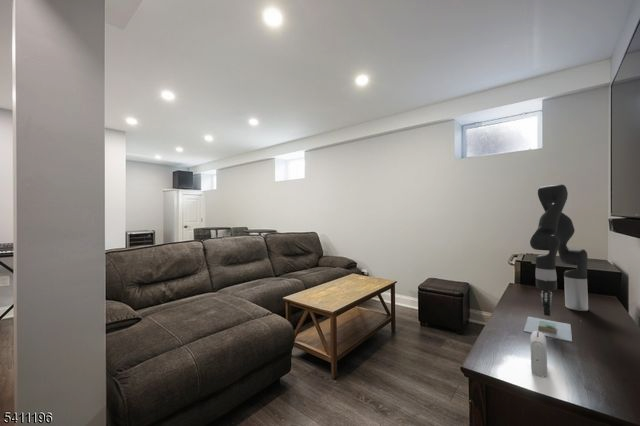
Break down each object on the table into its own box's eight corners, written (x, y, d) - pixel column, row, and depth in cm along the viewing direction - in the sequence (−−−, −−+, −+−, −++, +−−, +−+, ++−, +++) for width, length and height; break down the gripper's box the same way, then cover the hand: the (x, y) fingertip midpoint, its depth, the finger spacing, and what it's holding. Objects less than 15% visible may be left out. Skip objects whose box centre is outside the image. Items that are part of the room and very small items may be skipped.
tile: (539, 320, 127) (538, 325, 121) (555, 323, 123) (555, 329, 117) (539, 324, 127) (538, 330, 121) (556, 327, 123) (555, 333, 117)
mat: (528, 317, 137) (528, 316, 137) (570, 325, 126) (570, 324, 126) (523, 331, 121) (523, 330, 121) (572, 342, 110) (572, 341, 110)
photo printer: (547, 378, 86) (546, 340, 87) (530, 374, 89) (529, 337, 89) (547, 364, 94) (546, 329, 94) (531, 360, 97) (530, 326, 97)
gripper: (536, 274, 131) (537, 309, 131) (534, 279, 122) (535, 317, 121) (556, 276, 126) (558, 313, 126) (556, 282, 117) (557, 321, 116)
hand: (547, 315), depth 124 cm, fingers closed
